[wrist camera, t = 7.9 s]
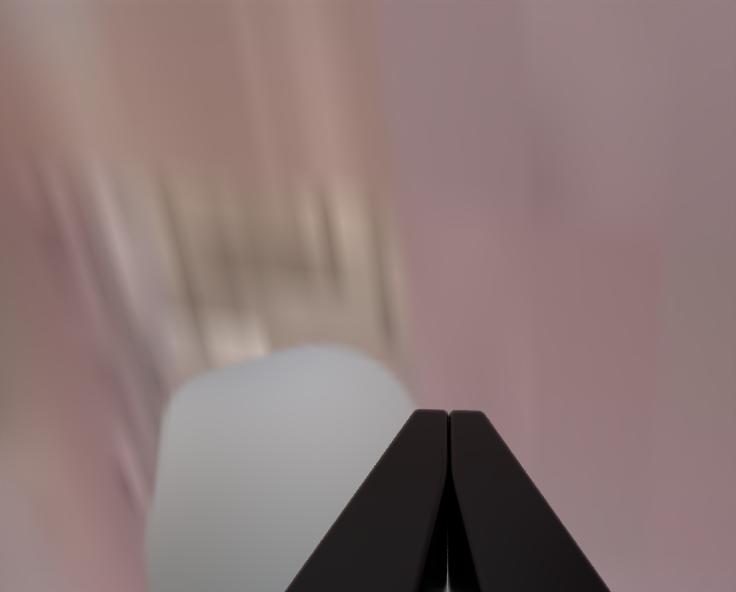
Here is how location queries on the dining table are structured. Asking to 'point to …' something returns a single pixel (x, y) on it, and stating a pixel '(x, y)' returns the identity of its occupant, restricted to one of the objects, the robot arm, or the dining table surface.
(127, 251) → the dining table surface
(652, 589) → the dining table surface
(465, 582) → the robot arm
